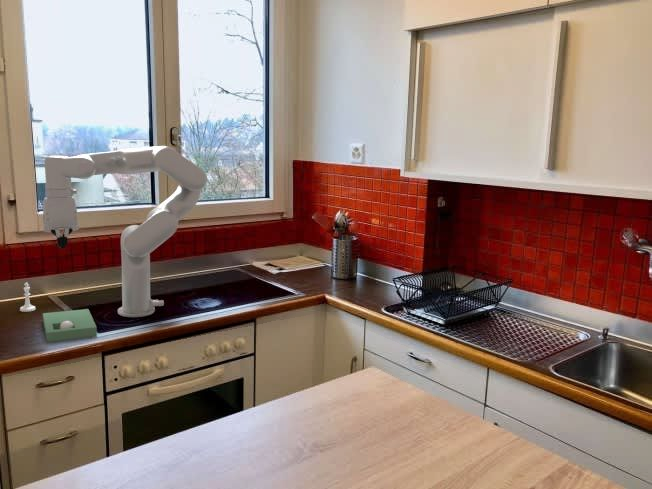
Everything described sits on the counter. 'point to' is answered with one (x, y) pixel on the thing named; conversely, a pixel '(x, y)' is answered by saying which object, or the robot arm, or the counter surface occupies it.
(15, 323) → the counter surface
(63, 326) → the ball
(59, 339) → the green
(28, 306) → the chess piece
